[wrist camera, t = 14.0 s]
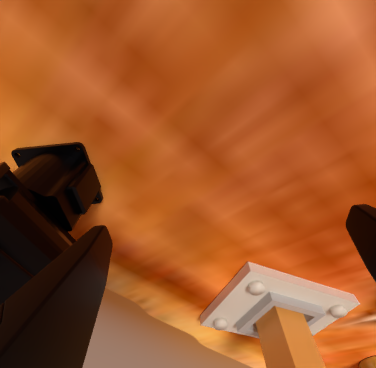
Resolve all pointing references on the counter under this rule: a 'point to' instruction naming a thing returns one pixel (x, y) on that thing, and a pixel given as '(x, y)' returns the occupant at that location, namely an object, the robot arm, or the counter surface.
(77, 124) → the counter surface
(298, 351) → the column brick
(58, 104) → the counter surface
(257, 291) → the baseplate
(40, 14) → the counter surface
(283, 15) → the counter surface
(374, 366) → the plant pot
